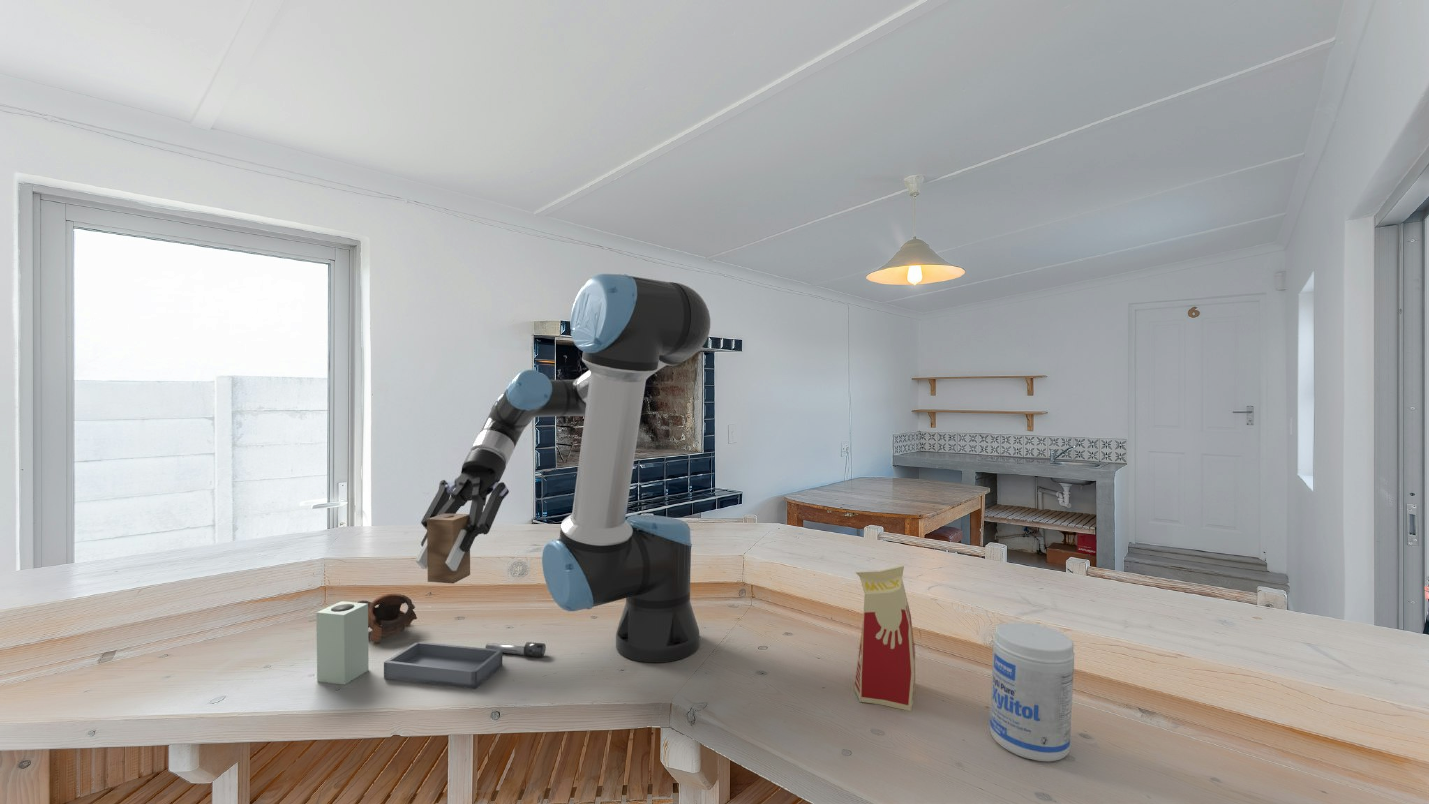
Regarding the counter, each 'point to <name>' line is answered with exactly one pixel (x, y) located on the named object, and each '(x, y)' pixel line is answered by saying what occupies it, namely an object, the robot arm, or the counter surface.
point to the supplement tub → (1032, 690)
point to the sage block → (342, 642)
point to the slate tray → (444, 664)
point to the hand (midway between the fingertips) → (435, 565)
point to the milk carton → (886, 642)
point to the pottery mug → (388, 615)
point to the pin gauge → (520, 649)
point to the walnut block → (445, 547)
